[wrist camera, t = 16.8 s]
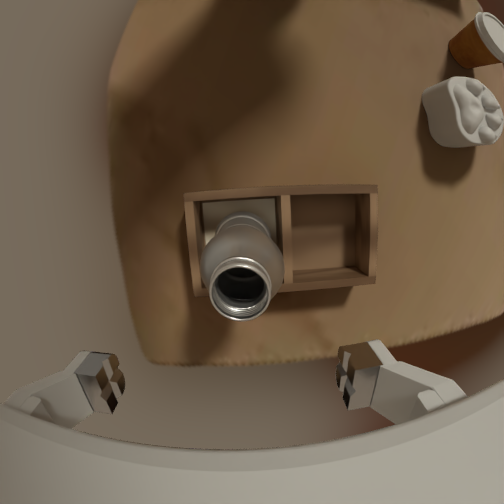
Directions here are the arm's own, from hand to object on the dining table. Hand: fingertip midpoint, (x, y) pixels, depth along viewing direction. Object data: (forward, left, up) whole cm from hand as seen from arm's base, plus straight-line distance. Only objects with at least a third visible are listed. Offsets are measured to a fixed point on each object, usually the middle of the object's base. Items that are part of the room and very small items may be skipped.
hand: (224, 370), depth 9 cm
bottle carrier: (0, +5, -28) cm, 29 cm away
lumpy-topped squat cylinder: (-18, +35, -29) cm, 49 cm away
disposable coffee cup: (-32, +41, -28) cm, 59 cm away
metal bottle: (0, 0, -28) cm, 28 cm away
